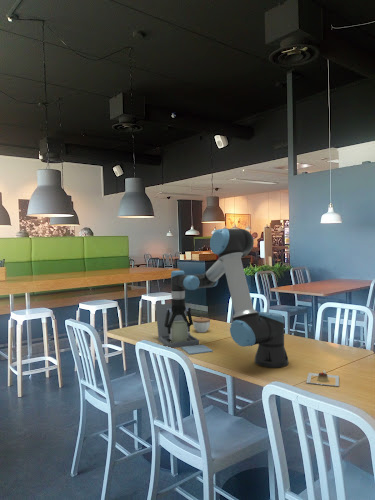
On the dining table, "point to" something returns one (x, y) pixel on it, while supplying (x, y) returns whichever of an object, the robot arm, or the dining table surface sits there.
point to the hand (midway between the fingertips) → (179, 338)
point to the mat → (196, 349)
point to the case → (164, 330)
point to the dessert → (323, 378)
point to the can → (179, 331)
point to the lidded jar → (201, 324)
